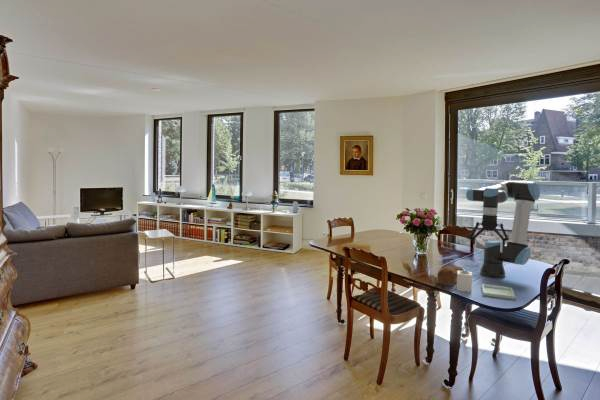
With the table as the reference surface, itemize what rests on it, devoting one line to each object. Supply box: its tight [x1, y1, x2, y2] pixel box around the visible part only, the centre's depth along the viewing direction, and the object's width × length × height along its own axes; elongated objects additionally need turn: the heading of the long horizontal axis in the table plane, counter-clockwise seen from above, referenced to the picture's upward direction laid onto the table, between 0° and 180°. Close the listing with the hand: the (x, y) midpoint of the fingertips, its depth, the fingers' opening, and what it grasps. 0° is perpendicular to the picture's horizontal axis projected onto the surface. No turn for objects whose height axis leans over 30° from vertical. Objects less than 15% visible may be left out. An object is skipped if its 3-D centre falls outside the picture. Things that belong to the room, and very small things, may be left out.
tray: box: [481, 283, 516, 301], centre depth 220 cm, size 16×16×2 cm
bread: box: [436, 264, 464, 287], centre depth 241 cm, size 19×11×10 cm, turn 139°
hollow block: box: [456, 270, 473, 293], centre depth 227 cm, size 8×8×10 cm
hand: (487, 250), depth 220 cm, fingers open, 13 cm apart
